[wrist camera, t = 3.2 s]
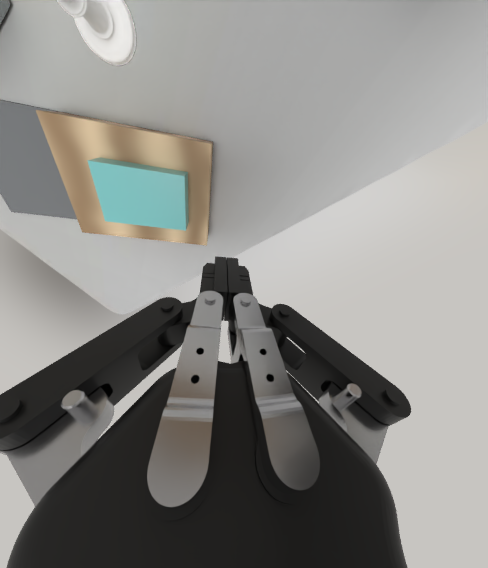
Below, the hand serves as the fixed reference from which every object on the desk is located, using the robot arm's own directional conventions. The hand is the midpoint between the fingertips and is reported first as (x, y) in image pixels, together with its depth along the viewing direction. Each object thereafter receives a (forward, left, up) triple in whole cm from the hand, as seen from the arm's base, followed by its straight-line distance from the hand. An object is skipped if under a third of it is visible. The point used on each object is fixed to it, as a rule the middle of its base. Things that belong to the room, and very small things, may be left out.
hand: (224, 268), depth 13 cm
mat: (+23, 0, -18) cm, 30 cm away
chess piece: (+12, -13, -19) cm, 26 cm away
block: (+9, 0, -14) cm, 17 cm away
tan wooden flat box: (+10, 0, -18) cm, 21 cm away
